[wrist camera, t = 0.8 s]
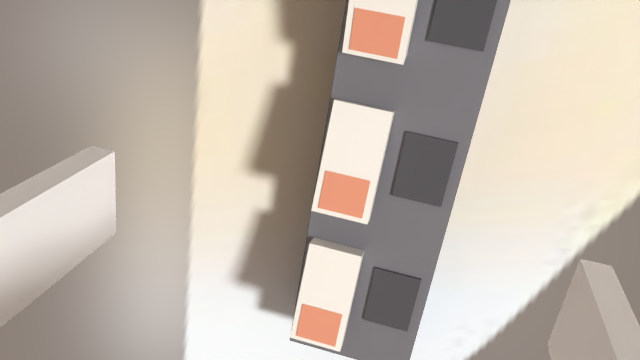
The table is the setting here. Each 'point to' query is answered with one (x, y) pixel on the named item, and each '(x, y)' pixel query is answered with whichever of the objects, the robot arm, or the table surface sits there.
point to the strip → (411, 166)
